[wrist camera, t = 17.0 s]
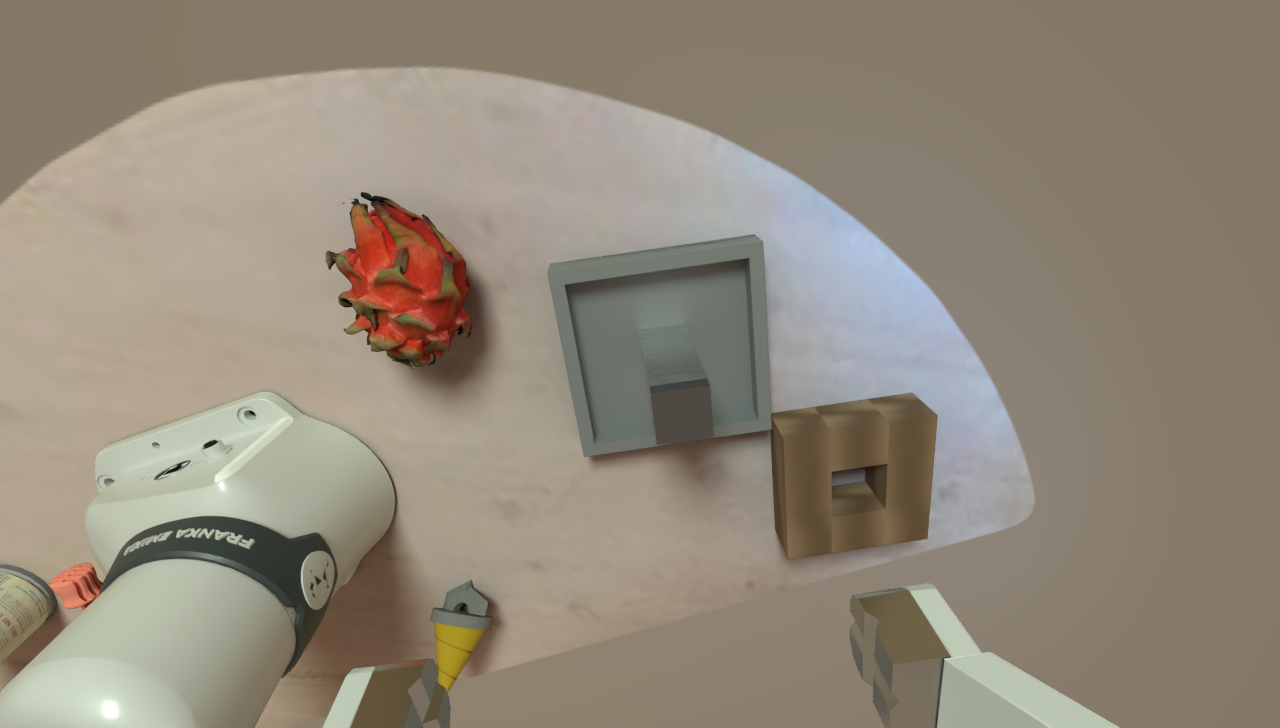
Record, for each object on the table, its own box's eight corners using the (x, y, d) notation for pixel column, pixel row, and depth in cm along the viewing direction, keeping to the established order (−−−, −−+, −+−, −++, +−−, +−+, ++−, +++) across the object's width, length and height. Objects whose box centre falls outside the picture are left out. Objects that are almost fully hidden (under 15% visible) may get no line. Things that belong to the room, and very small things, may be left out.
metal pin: (644, 371, 46) (656, 445, 36) (638, 329, 44) (650, 393, 34) (688, 365, 46) (714, 437, 36) (684, 323, 44) (710, 385, 34)
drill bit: (512, 586, 55) (484, 707, 51) (466, 578, 57) (436, 693, 53) (478, 581, 50) (445, 713, 47) (429, 572, 52) (394, 698, 49)
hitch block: (775, 528, 54) (788, 559, 50) (769, 413, 49) (783, 438, 45) (904, 509, 54) (927, 538, 50) (912, 392, 49) (937, 415, 45)
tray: (584, 440, 49) (584, 456, 46) (550, 263, 43) (547, 272, 40) (763, 414, 49) (771, 429, 46) (754, 234, 43) (763, 241, 40)
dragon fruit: (446, 349, 46) (396, 195, 43) (519, 344, 41) (469, 169, 38) (345, 389, 40) (279, 211, 37) (418, 389, 35) (348, 183, 32)
